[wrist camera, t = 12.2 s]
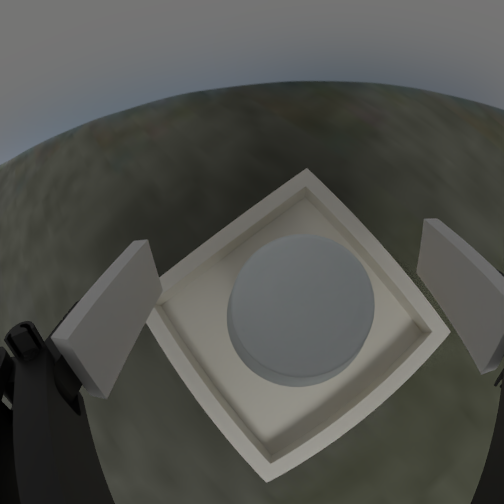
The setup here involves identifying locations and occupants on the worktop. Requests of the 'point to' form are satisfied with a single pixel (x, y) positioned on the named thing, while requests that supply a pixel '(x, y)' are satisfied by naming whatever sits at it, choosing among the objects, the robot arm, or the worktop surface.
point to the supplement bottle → (300, 310)
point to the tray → (255, 387)
